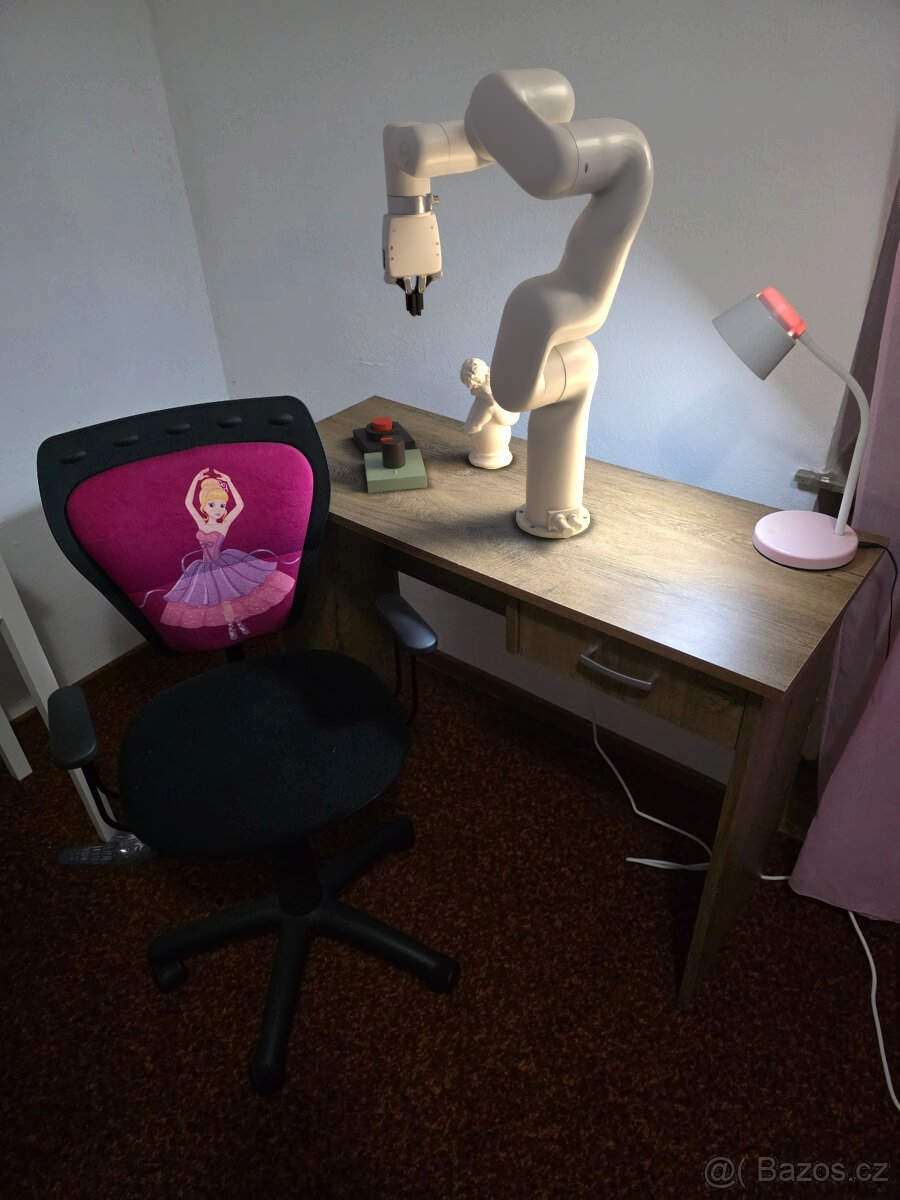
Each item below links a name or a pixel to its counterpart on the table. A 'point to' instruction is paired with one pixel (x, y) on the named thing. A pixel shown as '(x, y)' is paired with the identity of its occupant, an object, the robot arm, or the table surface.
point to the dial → (393, 451)
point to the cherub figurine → (486, 419)
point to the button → (382, 424)
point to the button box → (372, 439)
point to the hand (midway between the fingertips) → (415, 314)
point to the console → (395, 473)
